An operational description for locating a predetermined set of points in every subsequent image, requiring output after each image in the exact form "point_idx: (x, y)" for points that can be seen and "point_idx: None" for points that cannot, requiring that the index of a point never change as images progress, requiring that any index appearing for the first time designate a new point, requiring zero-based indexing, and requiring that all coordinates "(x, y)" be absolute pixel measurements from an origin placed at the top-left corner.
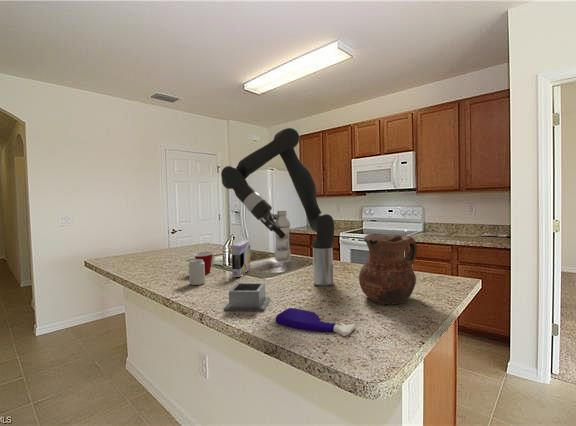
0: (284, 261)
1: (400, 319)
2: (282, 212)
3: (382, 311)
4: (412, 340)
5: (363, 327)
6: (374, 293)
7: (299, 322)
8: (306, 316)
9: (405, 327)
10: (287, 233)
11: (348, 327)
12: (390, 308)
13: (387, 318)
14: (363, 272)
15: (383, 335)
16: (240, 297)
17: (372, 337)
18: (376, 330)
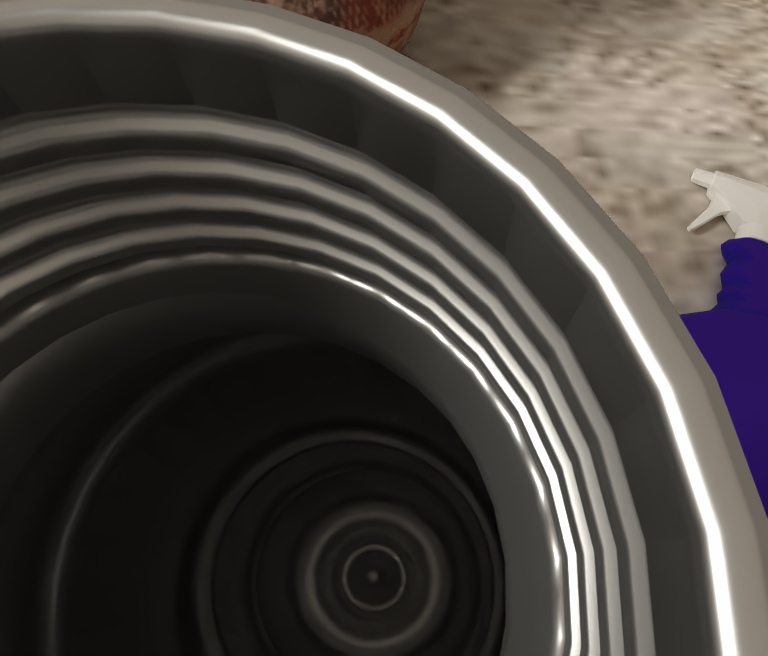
0: (452, 539)
1: (553, 23)
2: (631, 367)
3: (473, 71)
4: (741, 15)
5: (674, 147)
6: (403, 45)
7: None
8: (721, 372)
9: (631, 18)
10: (435, 423)
11: (754, 189)
12: (430, 41)
13: (553, 62)
14: (324, 1)
15: (730, 89)
16: None
17: (762, 123)
18: (690, 106)
